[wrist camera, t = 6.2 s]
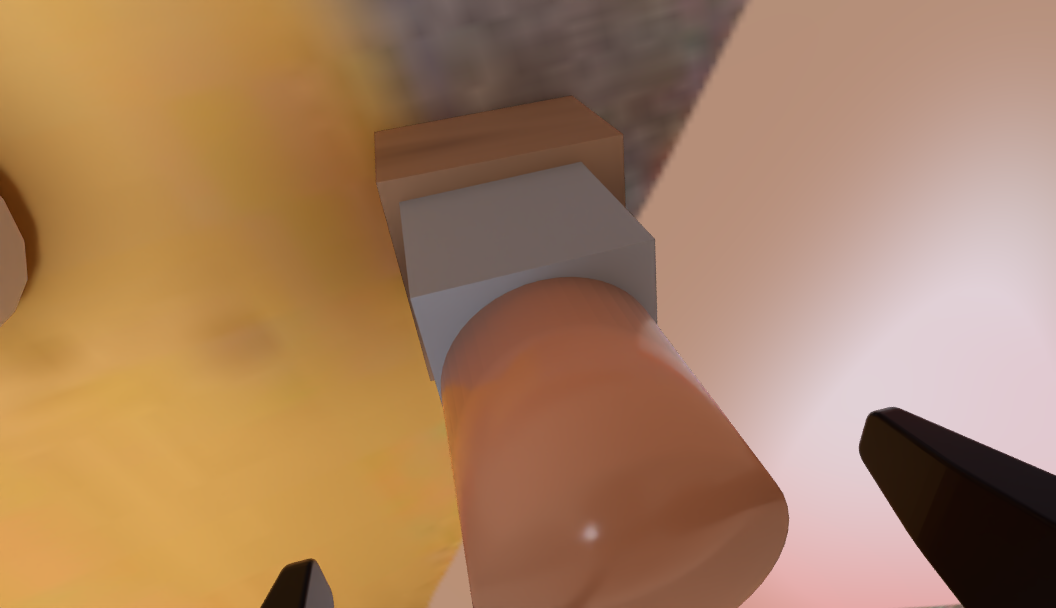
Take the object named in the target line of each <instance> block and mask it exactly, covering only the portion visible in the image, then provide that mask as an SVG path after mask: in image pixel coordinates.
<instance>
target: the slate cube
mask: <svg viewBox="0 0 1056 608" xmlns="http://www.w3.org/2000/svg"><path fill="white" fill-rule="evenodd" d="M399 205H400V214H401V223H402V232H403V240H404V249H405V258H406V267H407V276H408V285H409V294H410V300H411V303H412V306H413V310H414V313H415V316H416V320H417V323H418V326H419V330H420V333H421V336H422V340H423V343H424V346H425V349H426V353H427V356H428V359H429V363H430V366H431V369H432V373H433V376H434V379H435V382H436V386H437V389H438V392H439V396H440V399H441V402H442V397H441V374H442V367H443V364H444V361H445V358H446V355H447V353H448V351H449V349H450V346H451V344H452V342H453V341H454V339H455V338H456V336H457V335H458V333H459V332H460V330H461V329H462V328H463V327H464V326H465V325H466V323H467V322H468V321H469V320H470V319H471V318H472V317H473V316H474V315H475V314H476V313H478V312H479V311H480V310H481V309H482V308H483V307H485V306H486V305H488V304H489V303H490V302H492V301H493V300H495V299H496V298H498V297H500V296H502V295H503V294H505V293H507V292H509V291H511V290H514V289H516V288H518V287H521V286H523V285H526V284H529V283H533V282H536V281H540V280H545V279H551V278H558V277H582V278H590V279H595V280H600V281H603V282H606V283H609V284H612V285H614V286H616V287H618V288H620V289H622V290H624V291H626V292H627V293H629V294H630V295H631V296H633V297H634V298H635V299H636V300H637V301H638V302H639V303H640V304H641V305H642V306H643V307H644V308H645V310H646V311H647V312H648V313H649V315H650V316H651V317H652V319H653V320H654V321H655V323H656V324H657V296H656V261H655V260H656V259H655V239H654V238H653V237H652V235H651V234H650V233H649V232H648V231H647V230H646V229H645V228H644V227H643V226H642V225H641V224H640V223H639V222H638V221H637V220H636V219H635V218H634V217H633V216H632V214H631V213H630V212H629V211H628V210H627V209H626V208H625V207H624V206H623V205H622V204H621V203H620V202H619V201H618V200H617V199H616V198H615V197H614V196H613V195H612V193H611V192H610V191H609V190H608V189H607V188H606V187H605V186H604V185H603V184H602V183H601V182H600V181H599V180H598V179H597V178H596V177H595V176H594V175H593V174H592V173H591V171H590V170H589V169H588V168H587V167H586V166H585V165H584V164H583V163H582V162H577V163H573V164H568V165H564V166H559V167H555V168H550V169H546V170H541V171H537V172H532V173H528V174H523V175H519V176H514V177H510V178H506V179H501V180H497V181H492V182H488V183H483V184H479V185H474V186H470V187H465V188H461V189H456V190H452V191H447V192H443V193H438V194H434V195H429V196H425V197H420V198H416V199H411V200H407V201H402V202H399ZM442 406H443V404H442Z"/></svg>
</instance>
